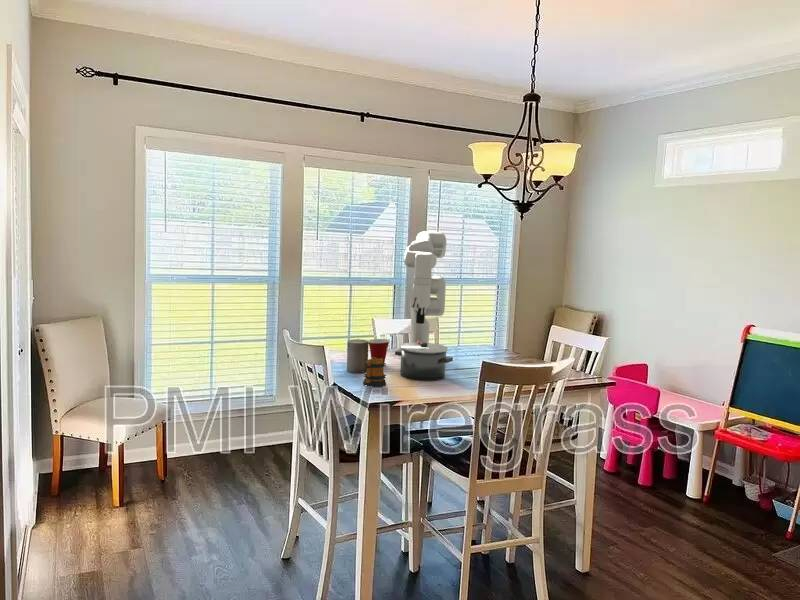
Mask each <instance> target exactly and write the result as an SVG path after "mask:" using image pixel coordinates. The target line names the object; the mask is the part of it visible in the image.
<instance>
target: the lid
mask: <svg viewBox="0 0 800 600" xmlns="http://www.w3.org/2000/svg"><path fill="white" fill-rule="evenodd" d="M401 349H402V350H404V351H408V352H414V353H424V354H438V353H445V352H446V353H447V352H448V347H447V346H445V345H443V344H438V343H432V342H429V343H425V342H421V341H417V342H412V343H410V342H405V343H404V342H403V343H402V344H400V350H401Z"/></svg>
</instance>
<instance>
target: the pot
mask: <svg viewBox="0 0 800 600" xmlns="http://www.w3.org/2000/svg"><path fill="white" fill-rule="evenodd" d="M394 356H400V369H399V370H400V373H399V374H400V377H401V378H404V379H407V380H412V381H419V382H436V381H442V380H444V379H445V377H446V364H449V363H452V362H453V360H454V359H453V358H454V357H452V356H447V352H445V353H438V354H424V353H414V352H408V351H404V350H402V349H401V348H400V349H399V350H395V351H394Z"/></svg>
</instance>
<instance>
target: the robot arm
mask: <svg viewBox="0 0 800 600" xmlns="http://www.w3.org/2000/svg"><path fill="white" fill-rule="evenodd" d="M446 250H447V237H446V235H445V233H444V232H441V231H429V230H428V231H427V230H426V231H421V232H419V233H418V234H417V235H416V237H415V240H414V241H412V242H411V243H410V245H408V246H407V247H406V249H405V252H404V257H403V258H404V259H403V261H404V265H405V267H406V268H407V269H414V271H413V286H412V290H411V299H410V303H409V309H410V333H409V335H410V336H409V343H412V342H417V341H421V342H425V343H430V342H429V341H430V323H429V321H428V319H427V318H426V317H441V316H444V314H445V309H446V280H445V278H444V277H443V276H439V275H432V272H433V271H432V270H433V268H435V266H436V265H437V259H443V258H444V257H445V255H446ZM431 295H432V297H431ZM433 295H434V296H435V297H434V296H433Z"/></svg>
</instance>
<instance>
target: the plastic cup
mask: <svg viewBox="0 0 800 600" xmlns="http://www.w3.org/2000/svg"><path fill="white" fill-rule="evenodd" d="M367 341H368V348H369V354H370V359H371V358H372V357H374V358H376V359H381V358H382V359H383V363H385V361H386V358H387V352H388V347H389V343H390V342H391V341H390V339H387V338H372V339H368V340H367Z"/></svg>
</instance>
